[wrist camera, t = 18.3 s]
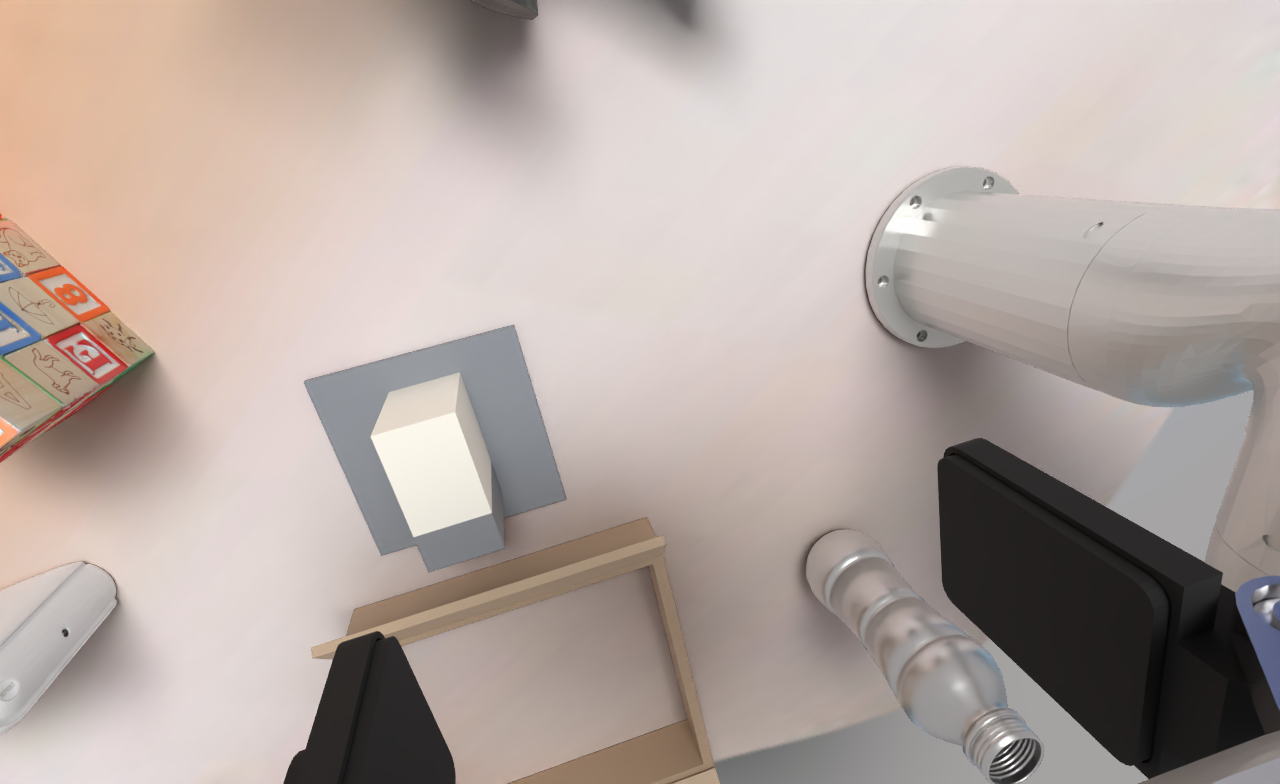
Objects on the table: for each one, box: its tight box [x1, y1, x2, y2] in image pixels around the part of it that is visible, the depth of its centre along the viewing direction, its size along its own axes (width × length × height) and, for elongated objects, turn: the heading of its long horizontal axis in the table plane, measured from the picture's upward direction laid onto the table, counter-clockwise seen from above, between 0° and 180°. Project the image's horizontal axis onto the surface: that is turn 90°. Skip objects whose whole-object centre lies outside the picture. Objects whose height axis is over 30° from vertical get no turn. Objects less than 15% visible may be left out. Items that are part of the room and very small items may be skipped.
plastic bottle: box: [806, 529, 1044, 784], centre depth 44 cm, size 6×7×20 cm
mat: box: [304, 325, 566, 556], centre depth 42 cm, size 13×13×1 cm
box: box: [370, 372, 505, 572], centre depth 39 cm, size 4×9×7 cm, turn 13°
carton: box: [311, 517, 720, 784], centre depth 47 cm, size 22×28×8 cm
